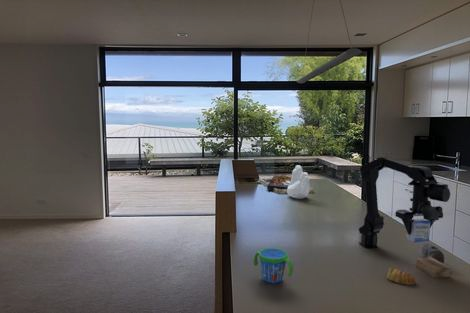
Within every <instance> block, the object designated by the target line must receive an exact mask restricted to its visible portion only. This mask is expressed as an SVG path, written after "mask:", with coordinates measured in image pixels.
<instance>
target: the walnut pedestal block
mask: <svg viewBox="0 0 470 313" xmlns="http://www.w3.org/2000/svg"><path fill="white" fill-rule="evenodd" d="M415 267H416V268H417V269H419V270H421V271H422V272H424V273H425V274H427V275H429V276H430V277H432V278H434V279H435V278H437V279H439V278H449V277H451V270H452V269H451V268H452V267H451V266H448V265H446V264H445V263H441V262H439V261H437V260H436V259H434V258H432V257H431V258H425V257H417V258H416V264H415Z"/></svg>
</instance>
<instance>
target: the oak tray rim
mask: <svg viewBox="0 0 470 313" xmlns="http://www.w3.org/2000/svg"><path fill="white" fill-rule="evenodd" d="M271 179H272V178H259V179H258V182H259V183H260V185H261V184H262V185H263V186H265V187H266V188H267V186H268V184H269V182H270V181H271ZM273 192H274V193H275V194H277V195H278V194H279V195H281V194H285V195H286V194H287V195H288V193H287V190H278V189H276V188H274V190H273V191H272V193H273ZM313 193H315V189H314V188H313V187H311V186H310V187H309V193H308V194H313Z"/></svg>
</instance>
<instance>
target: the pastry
mask: <svg viewBox="0 0 470 313" xmlns="http://www.w3.org/2000/svg"><path fill="white" fill-rule="evenodd" d="M386 278H387V280H389V281H391V282H394V283H396V284H402V285H408V286H409V285H410V286H411V285H412V286H413V285H415V284H416V278H415V277H414V276H412V275H411V274H409V273H407V272H405V271H403V270H401V269H400V270H399V269H398V268H393V267H390V268H389V269H388V272H387V276H386Z"/></svg>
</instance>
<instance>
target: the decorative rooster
mask: <svg viewBox="0 0 470 313" xmlns="http://www.w3.org/2000/svg"><path fill="white" fill-rule="evenodd" d="M291 176H292V177H291ZM291 176H290V177H291V181H290V183H289V186H288V188H287V193H288V194H287V195H288V196H289V197H291V198H293V199H298V200H299V199H300V200H302V199H305V198H306V197H308V196H309V194H310V193H309V187H310V188H311V186H310V177H309V174H308V172H306V171H303V167H302V166H301V165H300V164H299V165H298V164H297V165H295V167H294V169H293V170H292V172H291Z"/></svg>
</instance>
